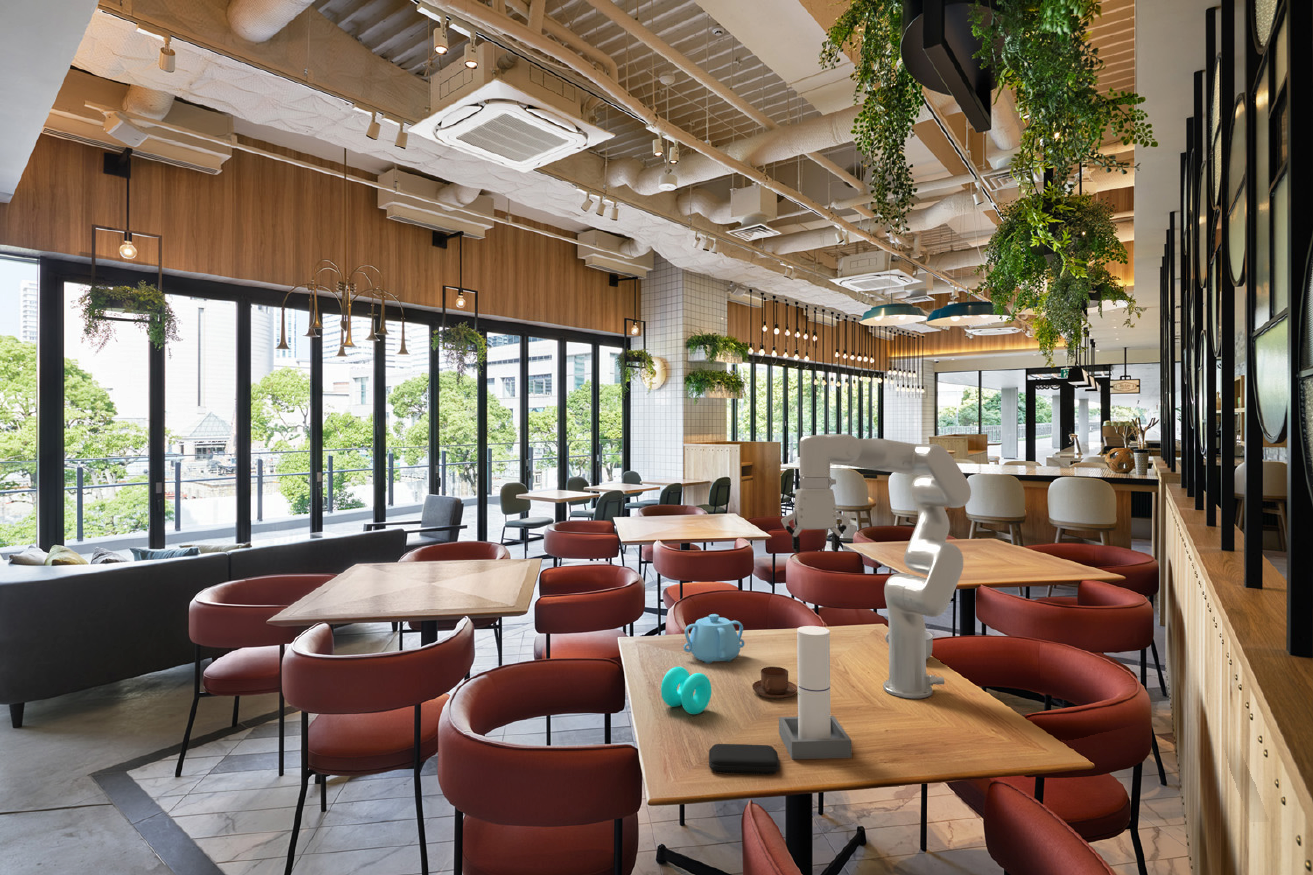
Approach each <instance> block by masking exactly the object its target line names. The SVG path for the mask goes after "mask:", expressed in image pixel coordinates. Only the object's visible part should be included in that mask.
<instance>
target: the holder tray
mask: <svg viewBox="0 0 1313 875" xmlns="http://www.w3.org/2000/svg"><path fill="white" fill-rule="evenodd" d="M830 718H831V739H799V740H798V716H778V734H779V736H780V738H781V741H782V742H783V744H784V746H785V748H786V750H787V752H788V754H789V757H790V758H791V760H812V759H813V760H819V759H850V758H852V757H853V756H852V753H853V752H852V751H853V750H852V748H853V747H852V739H851V738H850V735H848V733H847V732H846V730H845V729H844V728H843V726H842V725H841V723H840V722H839V721H838V719H837V718H836V717H835V716H834V715H830Z"/></svg>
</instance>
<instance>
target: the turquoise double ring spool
mask: <svg viewBox="0 0 1313 875" xmlns="http://www.w3.org/2000/svg"><path fill="white" fill-rule="evenodd" d="M678 686H679V687H678ZM660 693H661V698H662V700H663V702H664V704H666V705H667V706H669V707H673V708H675V707H680V706H681V705H682V708H683V709H684V711H685V712H686V713H687V714H690V715H699V714H700V713H702V712H703V711H705V710H706V708H707V707H708V705H709V703H710V700H711V698H712V682H711V680H710V679H709V678H708V676H707V675H706V674H704V673H701V672H695V673H692V674H691V675H690V673H689V671H688V670H687V669H686V668H685V667H682V666H674V667H673V668H670V669H669V670H668V671H667V672H666V673H665V675H664V677H663V679H662V681H661V686H660Z"/></svg>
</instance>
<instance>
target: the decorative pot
mask: <svg viewBox="0 0 1313 875" xmlns="http://www.w3.org/2000/svg"><path fill="white" fill-rule="evenodd" d="M734 625H738V626H739V629H738V633H737V631H736V630H737V629H736V628H735V626H734ZM689 630H691V631H690V635H689ZM743 633H744V626H743V624H742V623H741V622H740V621H738V620H729V619H728V618H726V617H720V615H719V614H717V613H712V614H709V615H708V616H705V617H702V618H699V619H697V620H696V621H695V623H691V624H688V625H687V626H686V627H685V629H684V637H685V638H686V643H685V644H684V645H683V651H684V652H686V653H691V654H692V655H693V657H694V658H695V659H697V660H699V661H703V663H704V664H712V663H713V662H721V661H722V662H726V663H729V662H732V660H733V659H736V658H737V656H739V653H740V651H741V648H743V647H745V641H744V639H742V635H743ZM740 642H741V643H740ZM687 646H688V648H687Z"/></svg>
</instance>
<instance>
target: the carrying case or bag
mask: <svg viewBox="0 0 1313 875" xmlns="http://www.w3.org/2000/svg"><path fill="white" fill-rule="evenodd" d="M708 766H709V768H710V769H711V770H712V772H714V773H718V774H731V775H733V774H735V775H776V774H777V773H778V771H779V770H780V769H781V763H780V759H779V755H778V751H777V750H776V749H775V748H774V747H773V745H767V744H749V743H747V744H741V743H740V744H739V743H716V744H713V745H712V747H710V748H709V750H708Z"/></svg>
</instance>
